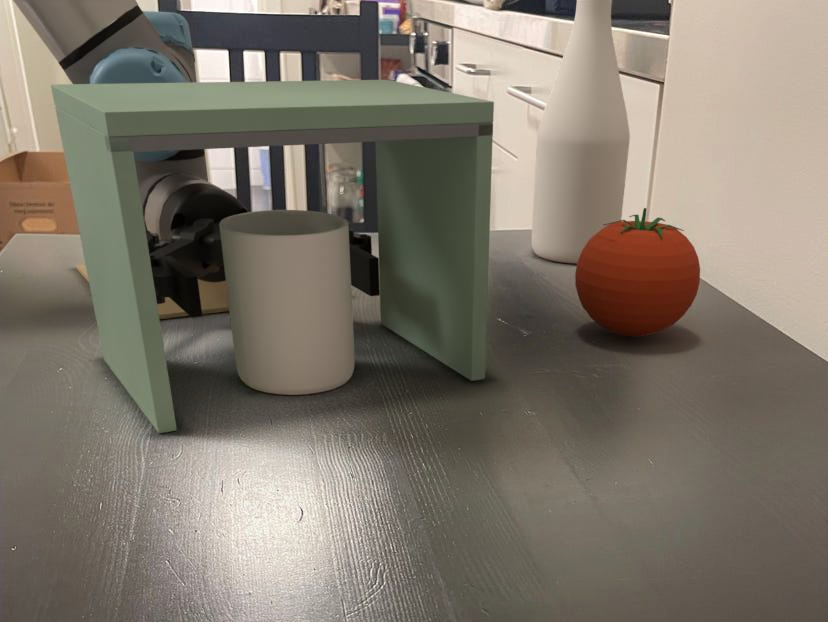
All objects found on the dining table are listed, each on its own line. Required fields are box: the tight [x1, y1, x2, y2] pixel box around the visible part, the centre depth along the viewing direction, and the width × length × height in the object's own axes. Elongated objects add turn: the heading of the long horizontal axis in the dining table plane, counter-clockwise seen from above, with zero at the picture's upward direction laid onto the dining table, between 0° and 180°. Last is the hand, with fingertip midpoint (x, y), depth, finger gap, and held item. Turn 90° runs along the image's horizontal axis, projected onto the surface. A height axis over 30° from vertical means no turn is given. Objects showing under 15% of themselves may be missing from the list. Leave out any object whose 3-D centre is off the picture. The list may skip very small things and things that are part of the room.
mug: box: [219, 209, 355, 396], centre depth 70 cm, size 9×12×11 cm
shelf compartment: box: [50, 79, 495, 434], centre depth 67 cm, size 24×16×18 cm, turn 120°
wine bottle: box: [530, 0, 631, 264], centre depth 98 cm, size 10×10×30 cm
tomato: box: [574, 207, 701, 337], centre depth 80 cm, size 10×10×10 cm
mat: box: [75, 264, 229, 320], centre depth 92 cm, size 20×20×1 cm
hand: (288, 287), depth 69 cm, fingers open, 13 cm apart
